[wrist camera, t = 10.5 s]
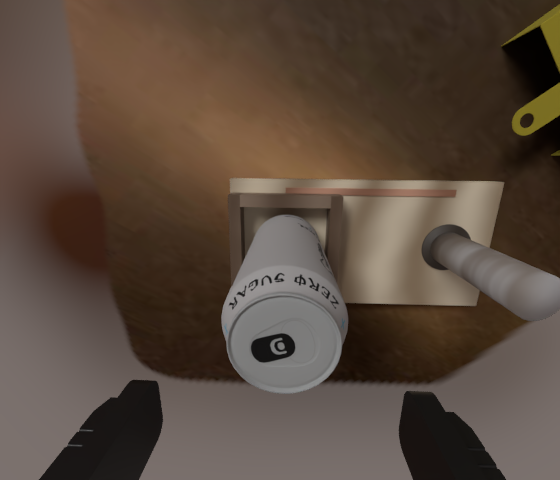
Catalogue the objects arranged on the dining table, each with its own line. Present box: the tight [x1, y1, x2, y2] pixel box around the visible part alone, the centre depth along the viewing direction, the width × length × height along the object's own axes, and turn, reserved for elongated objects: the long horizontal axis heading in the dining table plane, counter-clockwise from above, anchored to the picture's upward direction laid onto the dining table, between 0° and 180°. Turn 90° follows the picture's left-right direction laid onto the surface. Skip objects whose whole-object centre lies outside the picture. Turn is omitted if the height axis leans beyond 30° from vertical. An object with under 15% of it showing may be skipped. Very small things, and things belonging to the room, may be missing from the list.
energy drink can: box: [222, 215, 348, 394], centre depth 19 cm, size 6×6×15 cm
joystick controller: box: [228, 178, 560, 321], centre depth 22 cm, size 24×12×11 cm, turn 89°
